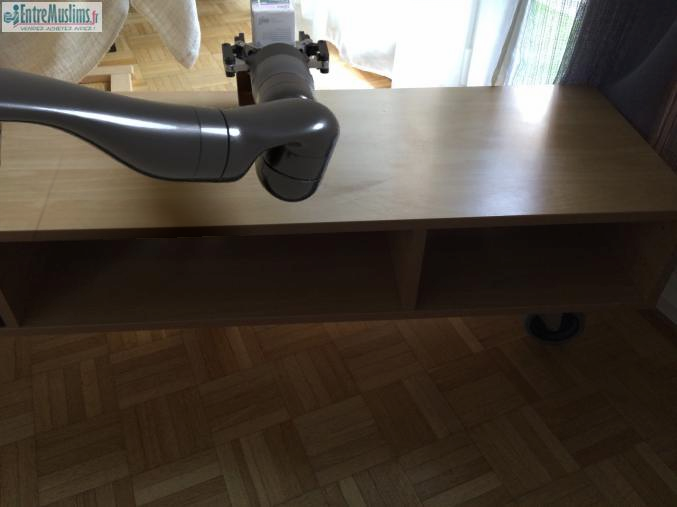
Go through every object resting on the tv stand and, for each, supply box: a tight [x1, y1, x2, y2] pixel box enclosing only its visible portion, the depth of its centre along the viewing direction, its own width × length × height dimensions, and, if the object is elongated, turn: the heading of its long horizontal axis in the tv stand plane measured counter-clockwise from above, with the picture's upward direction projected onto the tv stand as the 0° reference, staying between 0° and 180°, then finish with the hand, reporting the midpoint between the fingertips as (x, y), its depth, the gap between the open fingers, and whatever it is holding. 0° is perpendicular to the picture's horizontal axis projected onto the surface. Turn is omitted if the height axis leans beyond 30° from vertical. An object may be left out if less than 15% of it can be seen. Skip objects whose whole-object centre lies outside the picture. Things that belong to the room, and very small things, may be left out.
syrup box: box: [249, 0, 296, 46], centre depth 87 cm, size 6×6×14 cm
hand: (271, 38), depth 88 cm, fingers open, 8 cm apart
